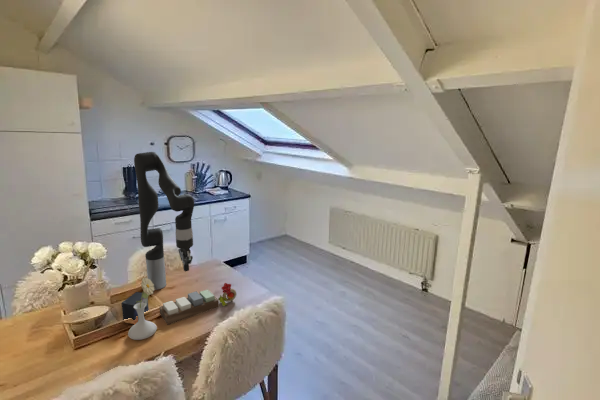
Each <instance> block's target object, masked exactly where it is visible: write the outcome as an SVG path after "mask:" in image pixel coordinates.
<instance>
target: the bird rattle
mask: <svg viewBox="0 0 600 400" xmlns="http://www.w3.org/2000/svg"><path fill="white" fill-rule="evenodd" d="M221 290H222V294H220V295H219V297H218V298H217V299H218V300H219V302H220V303H221V306H222V307H224V306H228V304H227V303H228V302H233V301H234V300H235V299H236V298H237V291H236V290H235V289H234V288H232V284H231V283H227V282H224V284H223V286H221Z"/></svg>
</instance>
